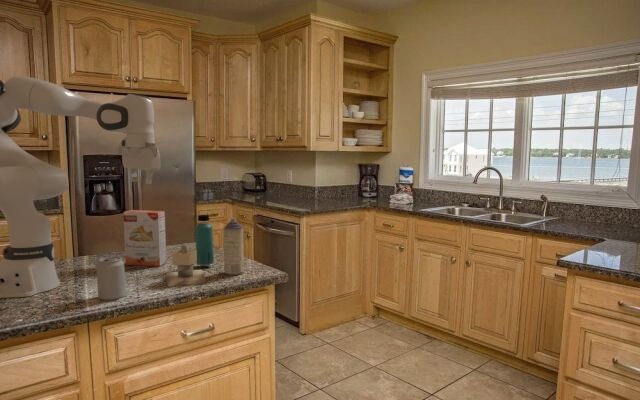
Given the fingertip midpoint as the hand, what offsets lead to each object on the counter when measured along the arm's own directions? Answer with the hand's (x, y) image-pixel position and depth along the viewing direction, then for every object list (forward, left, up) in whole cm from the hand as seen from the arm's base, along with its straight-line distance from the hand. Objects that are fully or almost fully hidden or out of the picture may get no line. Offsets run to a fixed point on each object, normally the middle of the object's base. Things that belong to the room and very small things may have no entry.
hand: (141, 182), depth 152 cm
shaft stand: (+13, -11, -33) cm, 37 cm away
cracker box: (0, +15, -33) cm, 36 cm away
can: (-9, -22, -33) cm, 40 cm away
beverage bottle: (+21, +4, -33) cm, 39 cm away
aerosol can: (+30, -8, -33) cm, 45 cm away
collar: (+13, -11, -27) cm, 32 cm away
